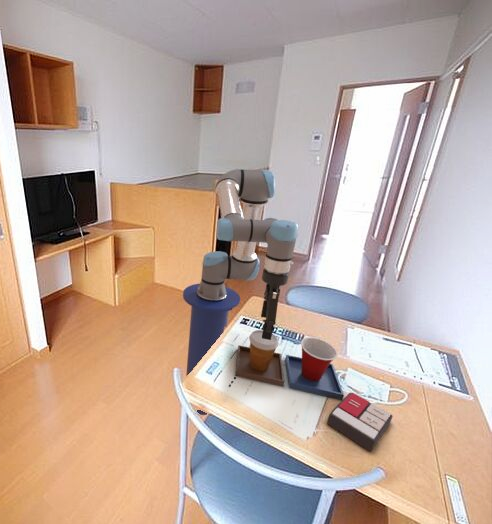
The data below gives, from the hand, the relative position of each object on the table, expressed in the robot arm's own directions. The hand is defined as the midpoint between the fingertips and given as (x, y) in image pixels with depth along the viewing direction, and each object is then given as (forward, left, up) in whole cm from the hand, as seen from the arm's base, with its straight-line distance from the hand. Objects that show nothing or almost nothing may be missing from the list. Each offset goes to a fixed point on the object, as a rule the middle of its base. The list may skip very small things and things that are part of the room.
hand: (265, 327), depth 103 cm
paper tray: (0, 0, -16) cm, 16 cm away
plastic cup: (0, +17, -16) cm, 23 cm away
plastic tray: (0, +17, -16) cm, 24 cm away
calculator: (+16, +27, -17) cm, 35 cm away
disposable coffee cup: (0, 0, -16) cm, 16 cm away
